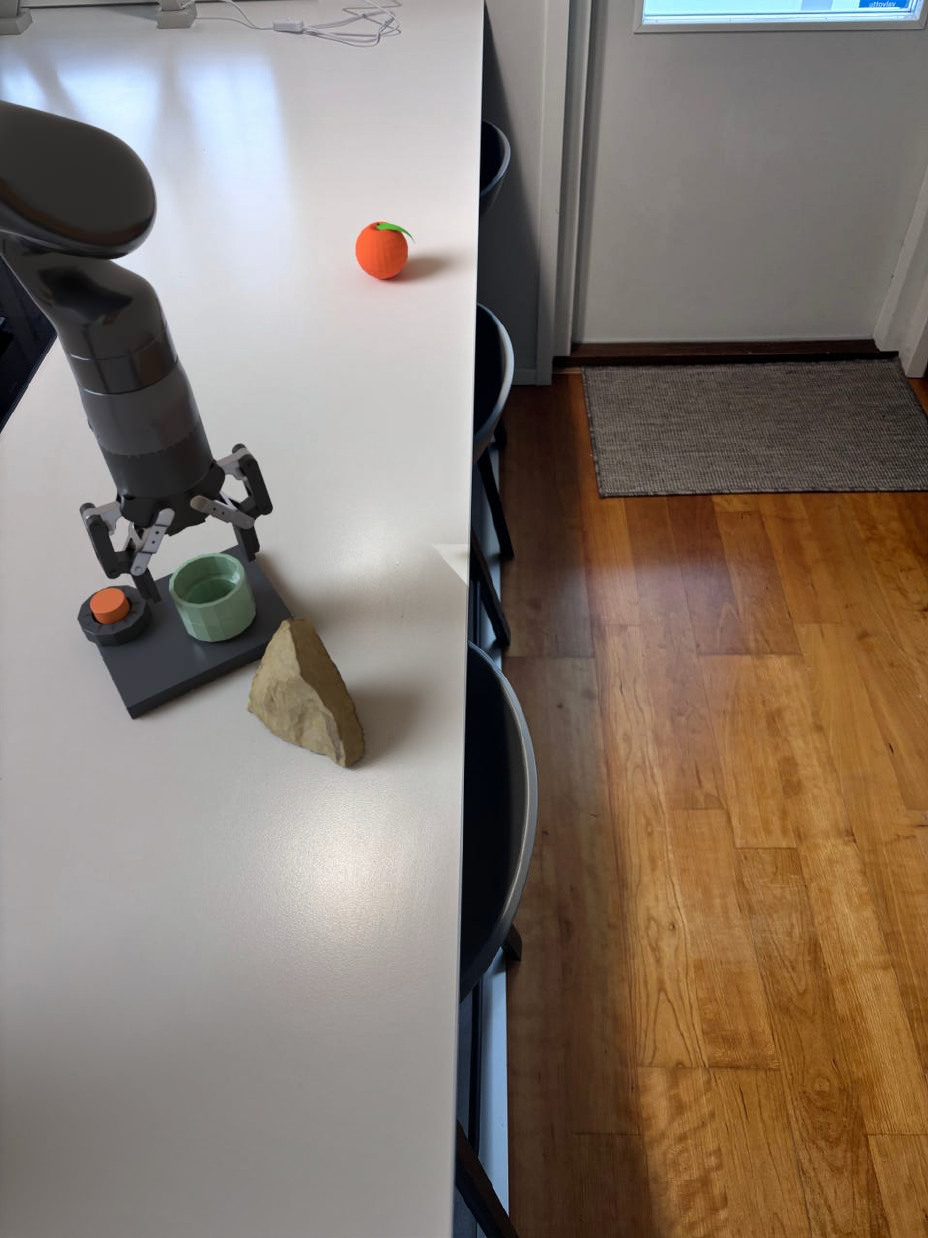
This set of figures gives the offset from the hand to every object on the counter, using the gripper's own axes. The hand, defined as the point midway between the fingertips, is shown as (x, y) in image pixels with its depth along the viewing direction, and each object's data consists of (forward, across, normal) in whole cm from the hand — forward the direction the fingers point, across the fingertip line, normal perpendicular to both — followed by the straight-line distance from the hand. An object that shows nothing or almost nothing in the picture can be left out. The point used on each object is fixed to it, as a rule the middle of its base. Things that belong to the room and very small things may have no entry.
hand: (202, 575), depth 81 cm
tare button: (+4, -8, +5) cm, 10 cm away
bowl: (+5, 0, 0) cm, 5 cm away
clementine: (+7, +43, +46) cm, 63 cm away
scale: (+7, -2, +1) cm, 8 cm away
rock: (+7, +2, -15) cm, 16 cm away
